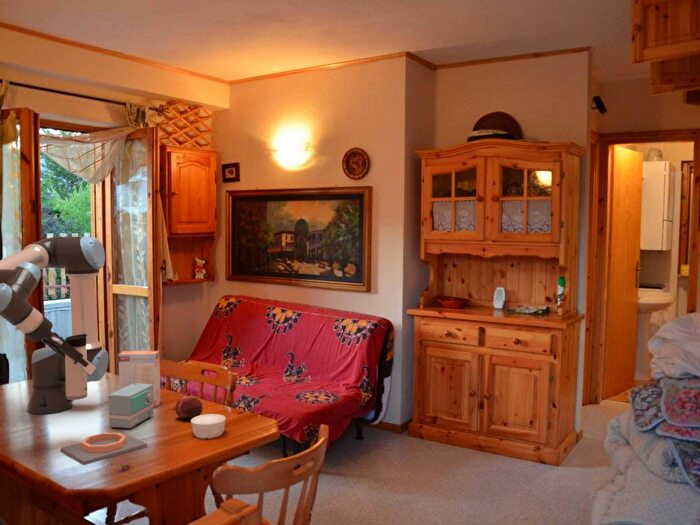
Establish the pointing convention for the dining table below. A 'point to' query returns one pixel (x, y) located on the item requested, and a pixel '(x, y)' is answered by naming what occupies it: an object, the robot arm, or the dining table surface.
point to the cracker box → (140, 370)
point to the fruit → (188, 407)
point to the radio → (131, 405)
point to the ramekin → (208, 425)
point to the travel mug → (76, 370)
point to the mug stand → (102, 447)
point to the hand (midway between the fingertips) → (88, 369)
